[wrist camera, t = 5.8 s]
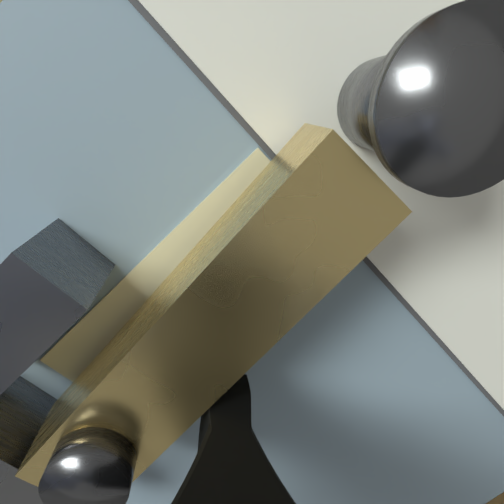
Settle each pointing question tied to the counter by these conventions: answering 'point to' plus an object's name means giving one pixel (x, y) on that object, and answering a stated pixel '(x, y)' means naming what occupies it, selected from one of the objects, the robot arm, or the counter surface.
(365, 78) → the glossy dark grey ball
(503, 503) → the counter surface
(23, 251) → the keeper
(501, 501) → the counter surface
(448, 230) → the door panel
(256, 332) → the swing bar
